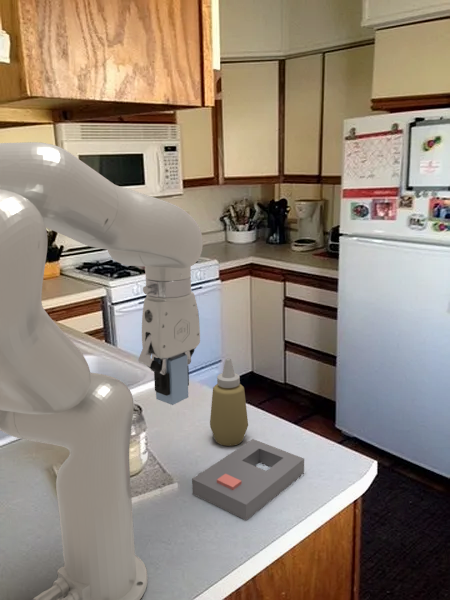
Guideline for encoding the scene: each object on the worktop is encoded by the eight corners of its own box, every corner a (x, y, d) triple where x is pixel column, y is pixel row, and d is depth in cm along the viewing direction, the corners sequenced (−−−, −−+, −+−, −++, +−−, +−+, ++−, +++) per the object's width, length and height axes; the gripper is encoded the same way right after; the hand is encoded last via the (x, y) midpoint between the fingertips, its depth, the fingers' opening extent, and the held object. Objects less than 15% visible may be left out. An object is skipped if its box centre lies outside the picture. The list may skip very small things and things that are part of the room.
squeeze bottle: (215, 452, 112) (213, 369, 108) (206, 433, 120) (204, 355, 115) (253, 446, 114) (253, 364, 110) (241, 428, 122) (241, 351, 117)
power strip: (246, 520, 91) (246, 501, 90) (192, 493, 98) (191, 475, 97) (303, 472, 104) (304, 455, 103) (252, 452, 112) (252, 436, 111)
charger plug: (172, 405, 95) (170, 358, 93) (156, 399, 97) (154, 353, 95) (188, 397, 98) (187, 352, 96) (172, 391, 100) (170, 347, 98)
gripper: (147, 300, 84) (152, 411, 89) (217, 281, 97) (219, 379, 101) (115, 293, 89) (121, 399, 93) (186, 276, 101) (189, 370, 106)
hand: (172, 387), depth 97 cm, fingers closed on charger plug, 4 cm apart
